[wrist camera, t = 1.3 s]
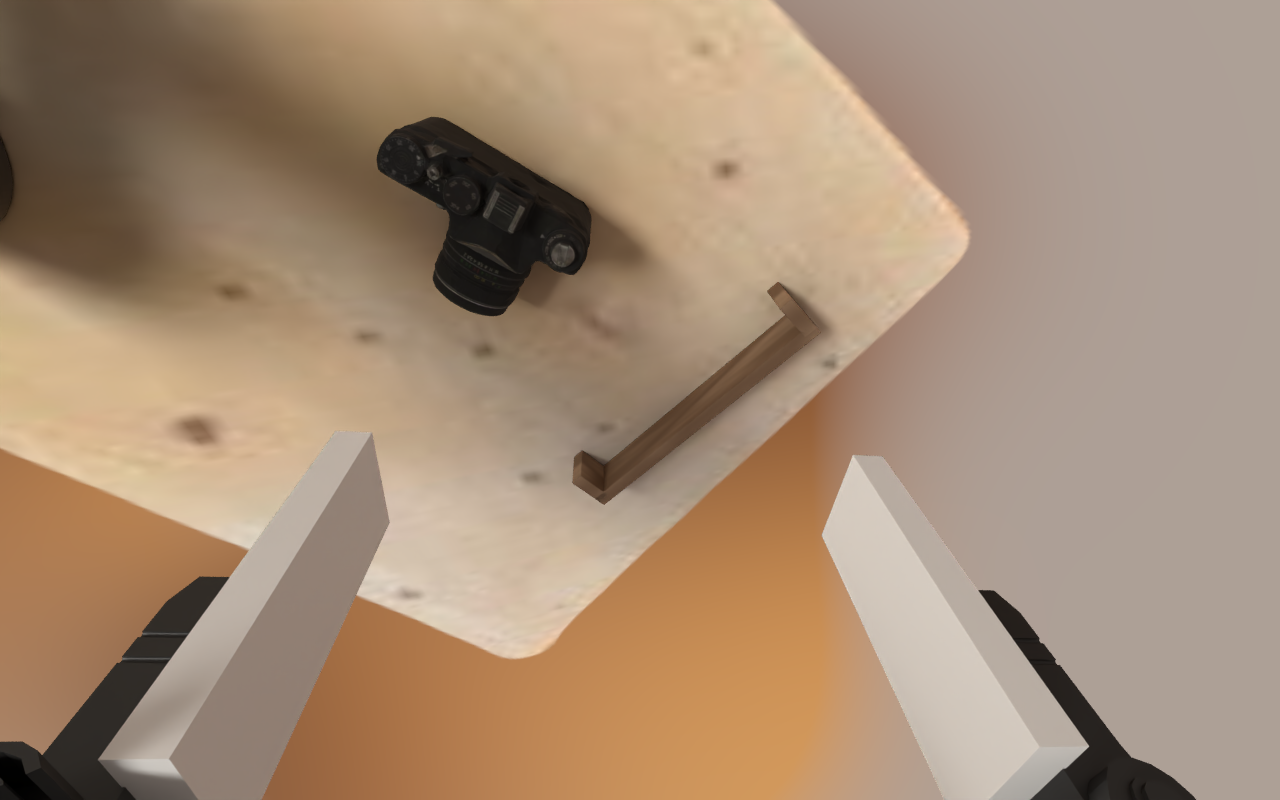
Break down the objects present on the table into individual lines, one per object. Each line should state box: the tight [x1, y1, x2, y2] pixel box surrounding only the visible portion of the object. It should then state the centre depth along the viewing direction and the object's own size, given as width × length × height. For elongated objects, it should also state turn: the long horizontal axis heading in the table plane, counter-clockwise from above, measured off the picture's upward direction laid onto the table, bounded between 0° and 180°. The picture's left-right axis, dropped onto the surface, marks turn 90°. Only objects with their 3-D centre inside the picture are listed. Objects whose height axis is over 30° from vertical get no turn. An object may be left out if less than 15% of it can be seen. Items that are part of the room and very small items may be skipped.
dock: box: [573, 282, 821, 505], centre depth 50 cm, size 4×26×4 cm, turn 134°
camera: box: [377, 117, 591, 316], centre depth 38 cm, size 14×11×10 cm
